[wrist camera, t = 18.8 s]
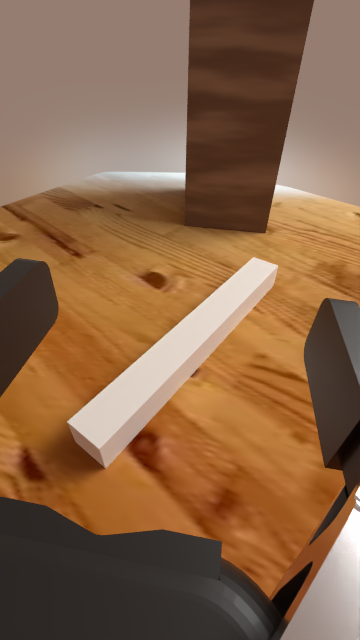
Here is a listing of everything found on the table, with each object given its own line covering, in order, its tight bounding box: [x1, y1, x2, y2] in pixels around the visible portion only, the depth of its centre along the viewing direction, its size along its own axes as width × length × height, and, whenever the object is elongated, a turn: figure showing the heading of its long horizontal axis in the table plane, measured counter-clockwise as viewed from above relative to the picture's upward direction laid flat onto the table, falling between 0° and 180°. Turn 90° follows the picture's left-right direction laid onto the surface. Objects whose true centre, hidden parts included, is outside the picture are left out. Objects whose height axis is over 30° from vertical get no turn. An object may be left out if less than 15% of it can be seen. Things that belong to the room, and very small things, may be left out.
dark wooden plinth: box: [184, 0, 314, 233], centre depth 42 cm, size 16×12×32 cm
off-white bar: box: [67, 257, 278, 469], centre depth 28 cm, size 26×3×3 cm, turn 143°
